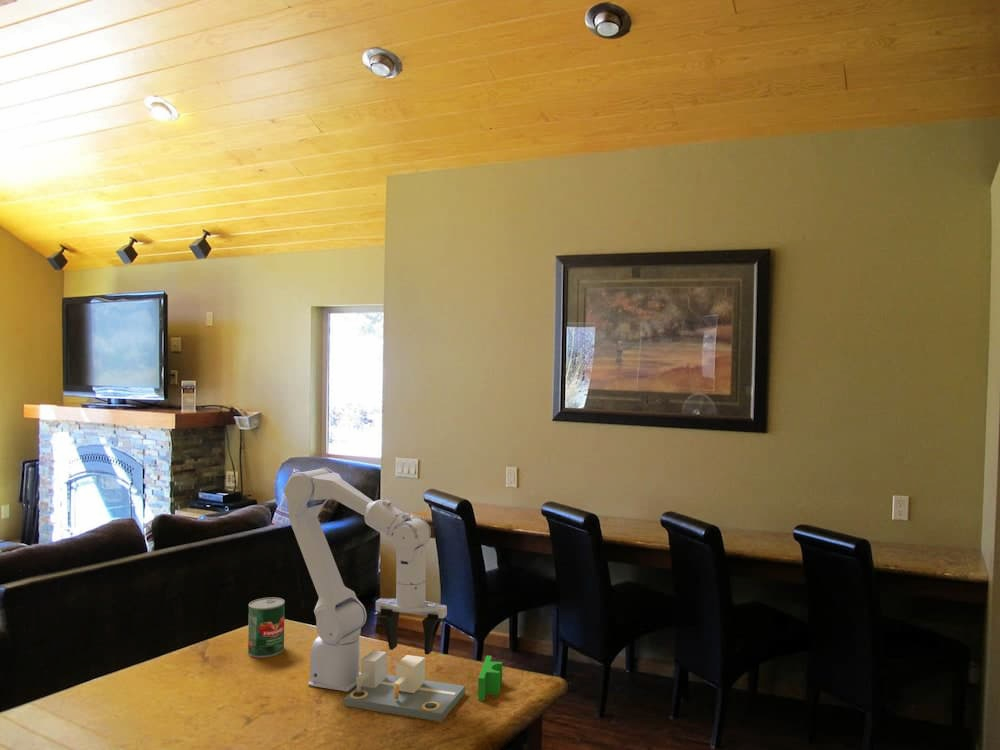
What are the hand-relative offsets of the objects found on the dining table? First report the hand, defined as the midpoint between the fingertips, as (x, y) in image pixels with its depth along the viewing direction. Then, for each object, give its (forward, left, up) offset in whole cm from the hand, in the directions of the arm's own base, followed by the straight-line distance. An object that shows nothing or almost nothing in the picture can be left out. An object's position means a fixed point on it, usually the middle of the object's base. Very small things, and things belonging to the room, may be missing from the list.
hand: (410, 650), depth 134 cm
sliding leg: (0, -2, -7) cm, 7 cm away
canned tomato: (-41, +10, -9) cm, 43 cm away
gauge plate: (0, -2, -9) cm, 9 cm away
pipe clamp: (+14, +8, -9) cm, 19 cm away
